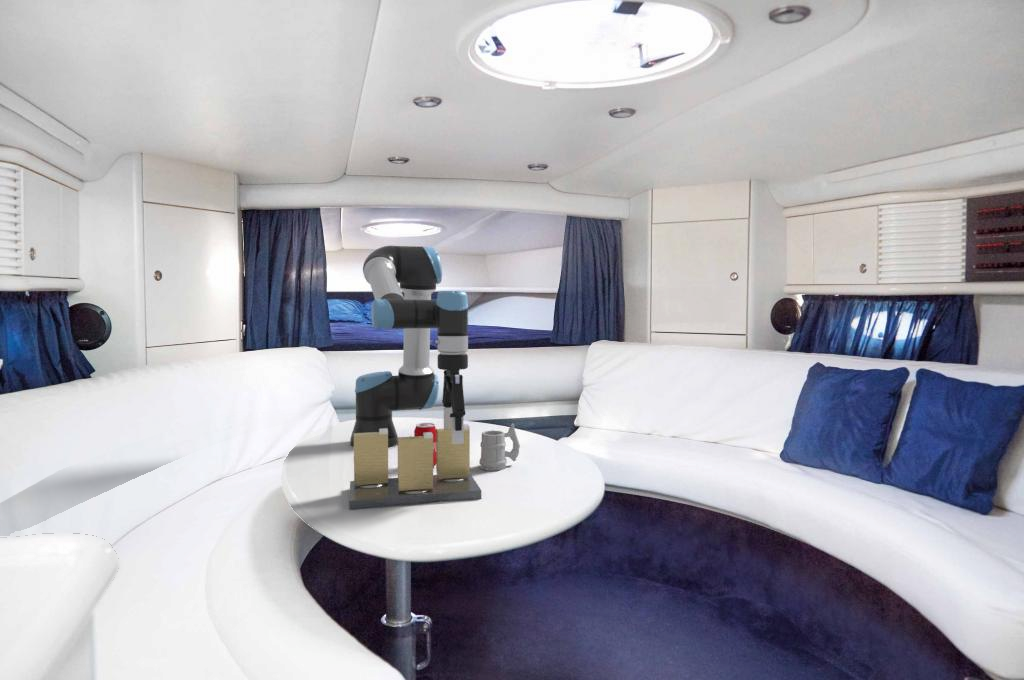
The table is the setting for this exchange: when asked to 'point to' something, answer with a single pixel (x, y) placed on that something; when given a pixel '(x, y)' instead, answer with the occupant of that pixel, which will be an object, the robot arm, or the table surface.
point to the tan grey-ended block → (415, 462)
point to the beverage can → (425, 428)
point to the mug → (497, 449)
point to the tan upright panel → (452, 454)
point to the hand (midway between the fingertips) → (453, 437)
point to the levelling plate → (412, 493)
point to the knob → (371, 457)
